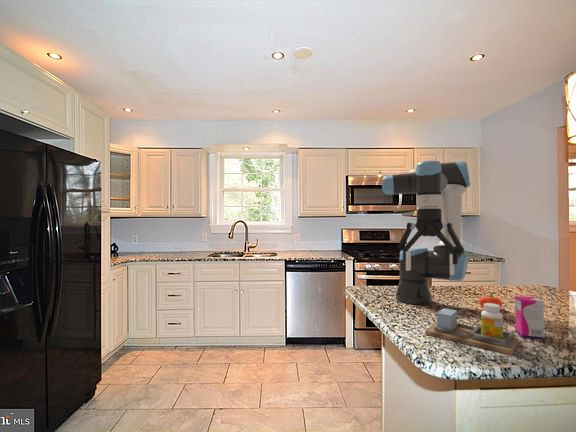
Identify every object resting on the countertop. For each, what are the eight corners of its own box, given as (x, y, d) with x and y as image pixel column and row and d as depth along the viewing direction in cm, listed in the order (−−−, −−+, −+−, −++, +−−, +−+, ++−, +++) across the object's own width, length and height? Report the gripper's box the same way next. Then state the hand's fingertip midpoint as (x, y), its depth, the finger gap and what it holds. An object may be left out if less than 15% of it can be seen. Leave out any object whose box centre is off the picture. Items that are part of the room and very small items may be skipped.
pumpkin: (476, 307, 127) (475, 291, 128) (497, 309, 126) (496, 292, 126) (483, 310, 120) (482, 293, 121) (506, 311, 119) (505, 294, 120)
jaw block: (437, 328, 96) (436, 312, 96) (443, 323, 101) (443, 308, 101) (451, 332, 93) (450, 315, 93) (457, 326, 99) (456, 310, 99)
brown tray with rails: (425, 334, 95) (425, 325, 96) (438, 324, 105) (438, 316, 105) (512, 355, 81) (512, 344, 81) (518, 341, 90) (518, 331, 90)
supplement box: (536, 332, 97) (536, 296, 97) (545, 339, 92) (544, 301, 92) (514, 330, 99) (514, 295, 99) (521, 337, 93) (521, 299, 94)
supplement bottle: (476, 335, 92) (476, 302, 92) (493, 334, 92) (493, 302, 92) (490, 342, 86) (489, 307, 86) (507, 341, 87) (507, 307, 87)
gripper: (387, 208, 107) (388, 269, 107) (469, 207, 91) (470, 278, 91) (395, 209, 113) (396, 267, 112) (474, 207, 96) (474, 275, 96)
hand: (429, 272), depth 102 cm, fingers open, 13 cm apart
